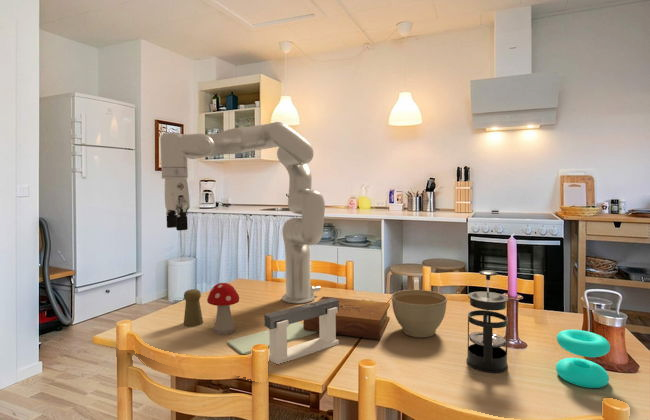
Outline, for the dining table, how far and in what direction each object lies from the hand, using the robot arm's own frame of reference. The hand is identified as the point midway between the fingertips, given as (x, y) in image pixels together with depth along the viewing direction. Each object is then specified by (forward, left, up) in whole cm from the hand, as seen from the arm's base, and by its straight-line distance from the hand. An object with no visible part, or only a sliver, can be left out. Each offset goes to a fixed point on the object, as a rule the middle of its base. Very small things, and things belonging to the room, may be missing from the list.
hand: (177, 228), depth 122 cm
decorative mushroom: (-9, +13, -31) cm, 35 cm away
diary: (-41, +34, -31) cm, 62 cm away
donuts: (-60, +92, -32) cm, 114 cm away
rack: (-20, +40, -31) cm, 55 cm away
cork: (-4, 0, -31) cm, 32 cm away
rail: (-20, +40, -22) cm, 50 cm away
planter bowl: (-54, +51, -32) cm, 81 cm away
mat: (-18, +27, -31) cm, 45 cm away
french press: (-50, +75, -31) cm, 95 cm away
